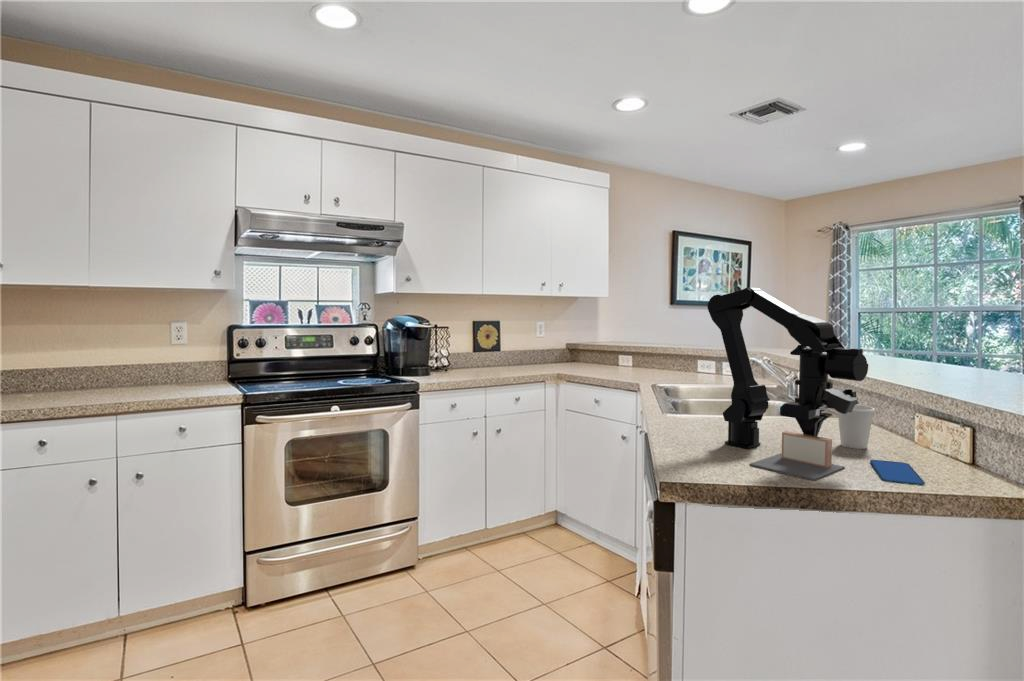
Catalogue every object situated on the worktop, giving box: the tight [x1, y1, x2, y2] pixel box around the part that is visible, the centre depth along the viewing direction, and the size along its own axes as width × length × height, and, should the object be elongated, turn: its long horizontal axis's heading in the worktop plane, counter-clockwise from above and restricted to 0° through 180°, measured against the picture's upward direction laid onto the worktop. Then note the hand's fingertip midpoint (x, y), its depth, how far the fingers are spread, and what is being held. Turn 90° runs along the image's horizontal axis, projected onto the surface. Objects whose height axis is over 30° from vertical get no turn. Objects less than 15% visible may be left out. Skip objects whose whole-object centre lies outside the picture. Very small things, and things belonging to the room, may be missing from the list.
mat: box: [749, 452, 846, 482], centre depth 122 cm, size 14×14×1 cm
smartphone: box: [869, 459, 926, 486], centre depth 117 cm, size 7×1×15 cm
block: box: [781, 430, 833, 468], centre depth 124 cm, size 10×2×6 cm, turn 37°
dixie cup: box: [837, 404, 876, 450], centre depth 140 cm, size 8×8×10 cm
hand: (811, 444), depth 126 cm, fingers closed
